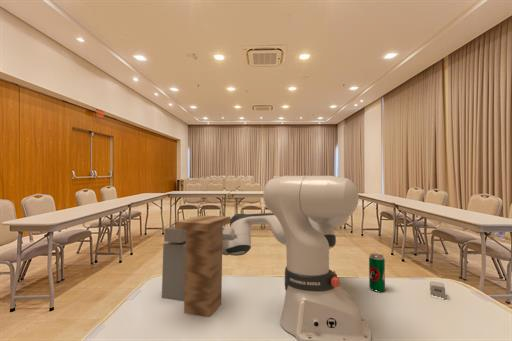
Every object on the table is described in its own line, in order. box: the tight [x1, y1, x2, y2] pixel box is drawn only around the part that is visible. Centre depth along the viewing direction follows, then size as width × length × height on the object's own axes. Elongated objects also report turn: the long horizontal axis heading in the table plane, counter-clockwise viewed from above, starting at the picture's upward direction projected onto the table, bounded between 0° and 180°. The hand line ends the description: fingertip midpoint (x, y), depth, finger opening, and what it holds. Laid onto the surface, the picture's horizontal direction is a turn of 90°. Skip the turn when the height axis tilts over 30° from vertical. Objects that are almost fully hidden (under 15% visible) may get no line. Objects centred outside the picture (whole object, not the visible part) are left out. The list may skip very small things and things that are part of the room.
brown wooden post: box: [174, 214, 231, 318], centre depth 78 cm, size 10×16×26 cm, turn 165°
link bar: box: [164, 225, 186, 243], centre depth 96 cm, size 6×26×4 cm, turn 165°
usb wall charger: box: [429, 280, 447, 300], centre depth 89 cm, size 4×7×4 cm, turn 149°
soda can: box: [368, 253, 386, 292], centre depth 93 cm, size 5×5×12 cm
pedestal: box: [161, 241, 186, 302], centre depth 91 cm, size 8×16×17 cm, turn 165°
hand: (204, 225), depth 105 cm, fingers closed on link bar, 3 cm apart
